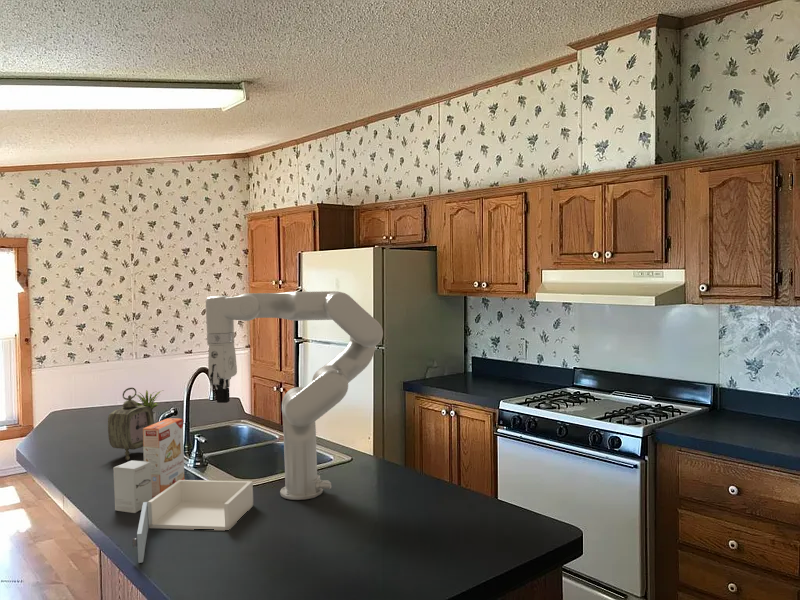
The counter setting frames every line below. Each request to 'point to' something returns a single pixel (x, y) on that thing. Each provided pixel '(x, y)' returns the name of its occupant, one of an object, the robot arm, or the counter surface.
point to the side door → (142, 533)
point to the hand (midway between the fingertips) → (223, 402)
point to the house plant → (150, 404)
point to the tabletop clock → (129, 425)
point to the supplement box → (132, 485)
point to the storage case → (200, 504)
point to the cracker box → (164, 453)
